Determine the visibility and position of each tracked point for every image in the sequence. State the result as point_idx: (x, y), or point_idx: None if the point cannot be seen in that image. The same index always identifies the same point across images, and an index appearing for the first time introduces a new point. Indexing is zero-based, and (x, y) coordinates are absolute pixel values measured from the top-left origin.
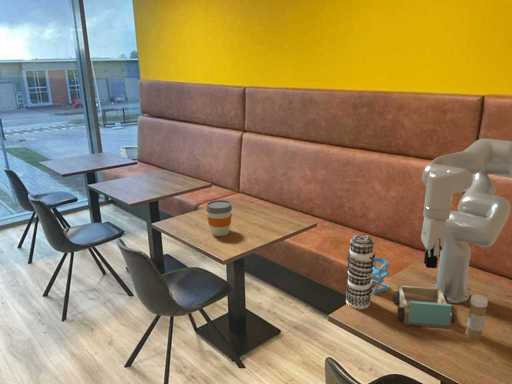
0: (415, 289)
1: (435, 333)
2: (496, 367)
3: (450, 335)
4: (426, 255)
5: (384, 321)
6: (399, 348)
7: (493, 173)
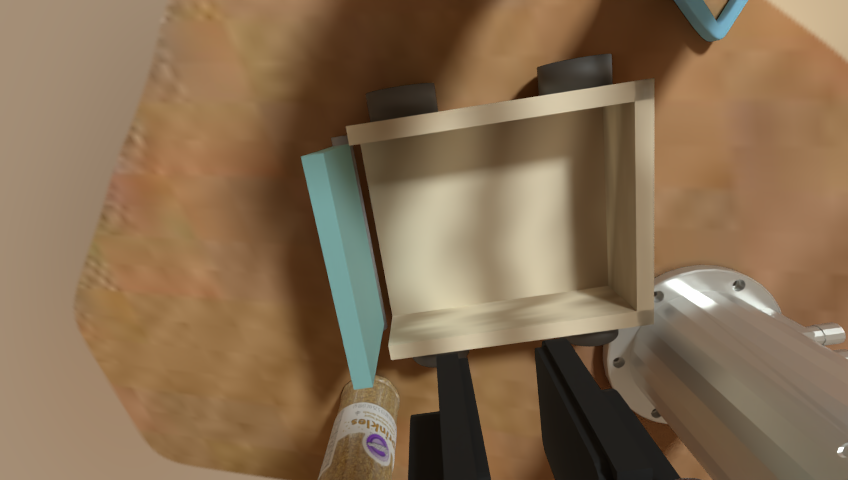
0: (629, 189)
1: None
2: (205, 441)
3: None
4: (580, 449)
5: (351, 18)
6: (154, 101)
7: None
